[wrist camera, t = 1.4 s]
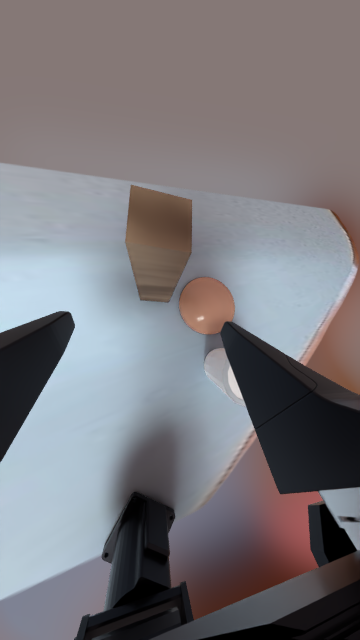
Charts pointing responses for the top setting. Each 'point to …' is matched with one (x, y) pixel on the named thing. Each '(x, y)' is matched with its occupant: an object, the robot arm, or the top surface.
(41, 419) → the top surface
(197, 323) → the orange flat disc
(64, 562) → the top surface
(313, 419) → the robot arm
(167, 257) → the walnut block
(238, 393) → the white short cylinder
